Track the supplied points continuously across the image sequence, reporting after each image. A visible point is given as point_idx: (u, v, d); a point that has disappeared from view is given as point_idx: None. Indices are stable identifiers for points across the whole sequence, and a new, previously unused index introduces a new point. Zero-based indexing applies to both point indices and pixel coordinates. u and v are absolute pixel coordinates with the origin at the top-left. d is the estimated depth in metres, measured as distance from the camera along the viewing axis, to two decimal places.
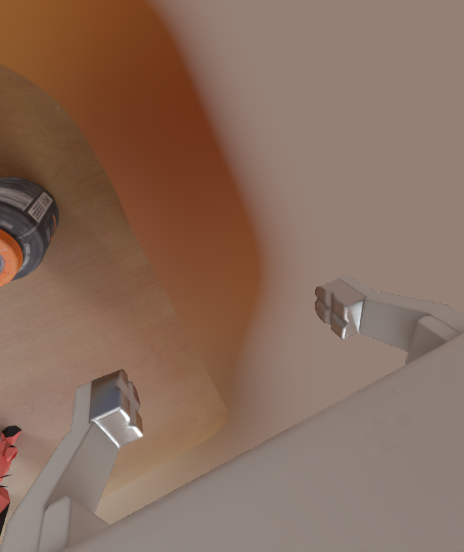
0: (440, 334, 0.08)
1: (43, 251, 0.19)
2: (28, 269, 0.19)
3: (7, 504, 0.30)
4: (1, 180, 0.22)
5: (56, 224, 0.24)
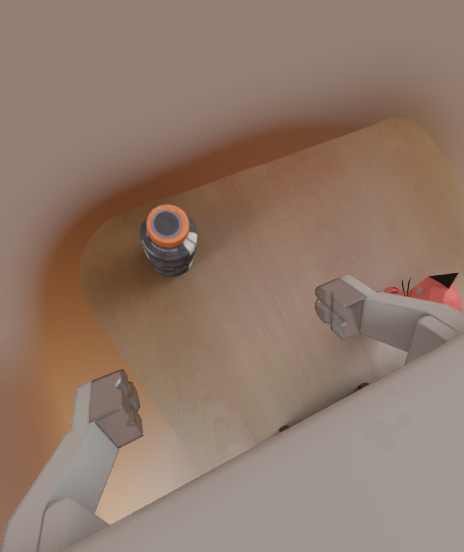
0: (440, 334, 0.08)
1: None
2: None
3: (430, 277, 0.32)
4: None
5: None
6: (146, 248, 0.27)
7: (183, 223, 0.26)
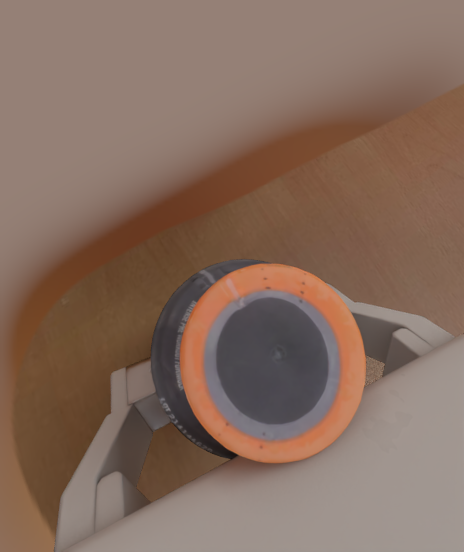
0: (413, 348, 0.08)
1: (254, 260, 0.09)
2: None
3: None
4: None
5: None
6: (181, 429, 0.07)
7: (342, 341, 0.06)
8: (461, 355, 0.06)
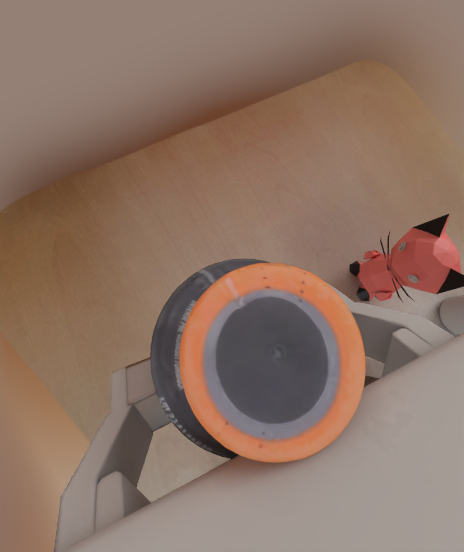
0: (413, 348, 0.08)
1: (253, 259, 0.09)
2: None
3: (414, 228, 0.25)
4: None
5: None
6: (181, 429, 0.07)
7: (342, 340, 0.06)
8: (461, 355, 0.06)
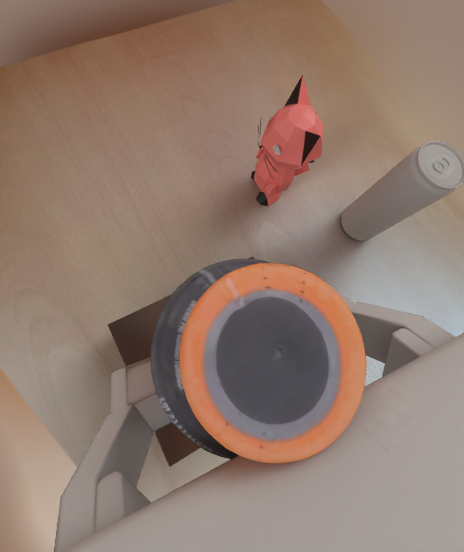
0: (413, 348, 0.08)
1: (254, 259, 0.09)
2: None
3: (285, 106, 0.25)
4: None
5: None
6: (181, 429, 0.07)
7: (342, 341, 0.06)
8: (461, 355, 0.06)
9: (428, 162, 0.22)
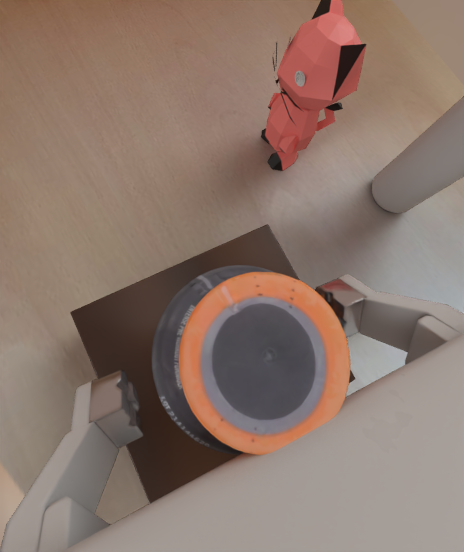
0: (440, 334, 0.08)
1: None
2: None
3: None
4: None
5: None
6: (180, 426, 0.08)
7: (329, 344, 0.06)
8: (461, 355, 0.06)
9: None
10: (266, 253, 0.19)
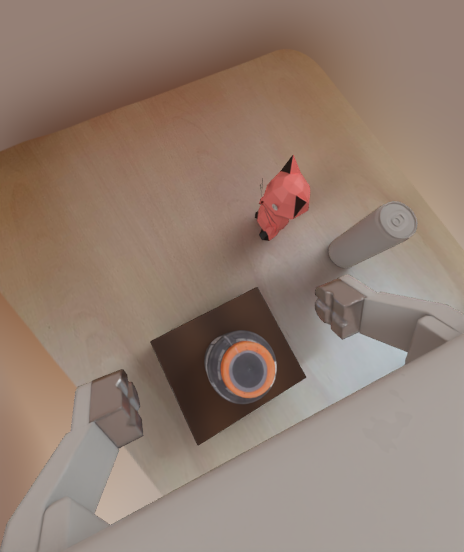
0: (440, 334, 0.08)
1: (244, 330, 0.23)
2: (260, 340, 0.22)
3: (281, 171, 0.33)
4: None
5: None
6: (219, 393, 0.21)
7: (268, 365, 0.20)
8: (461, 355, 0.06)
9: (388, 218, 0.30)
10: (256, 305, 0.32)
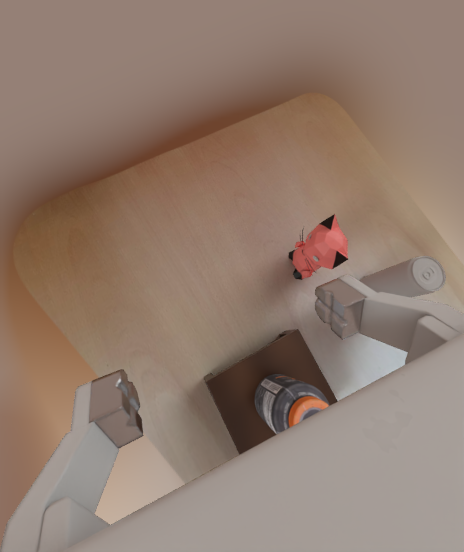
0: (440, 334, 0.08)
1: (302, 383, 0.26)
2: (318, 392, 0.26)
3: (320, 224, 0.36)
4: (258, 410, 0.31)
5: (282, 375, 0.32)
6: None
7: None
8: (461, 355, 0.06)
9: (419, 272, 0.33)
10: (298, 346, 0.36)
